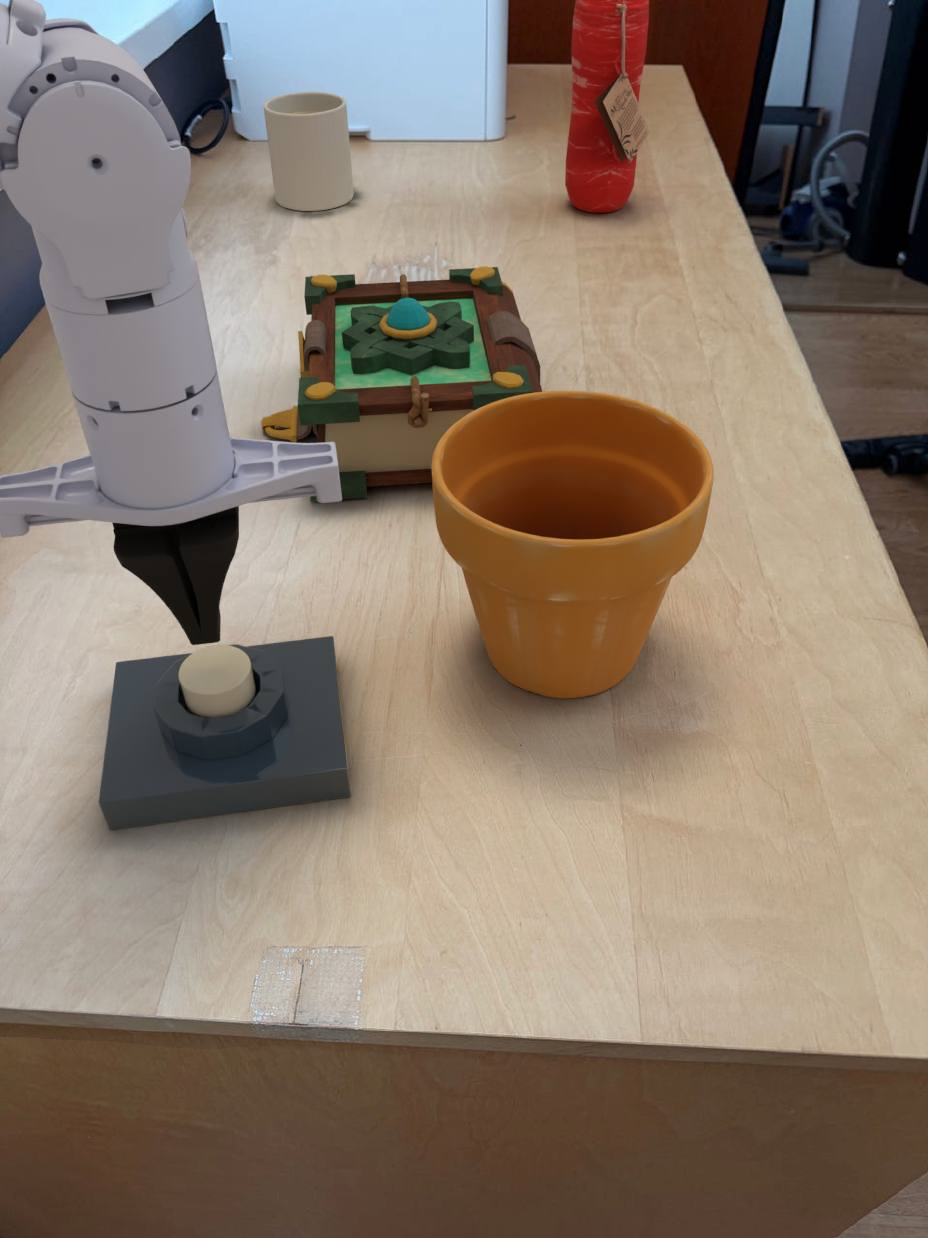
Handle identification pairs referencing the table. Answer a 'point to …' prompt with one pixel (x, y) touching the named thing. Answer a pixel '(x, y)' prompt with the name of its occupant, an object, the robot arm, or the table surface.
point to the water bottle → (606, 102)
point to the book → (403, 369)
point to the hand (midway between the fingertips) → (205, 630)
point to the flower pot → (569, 529)
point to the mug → (309, 150)
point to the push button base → (224, 739)
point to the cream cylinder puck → (217, 681)
